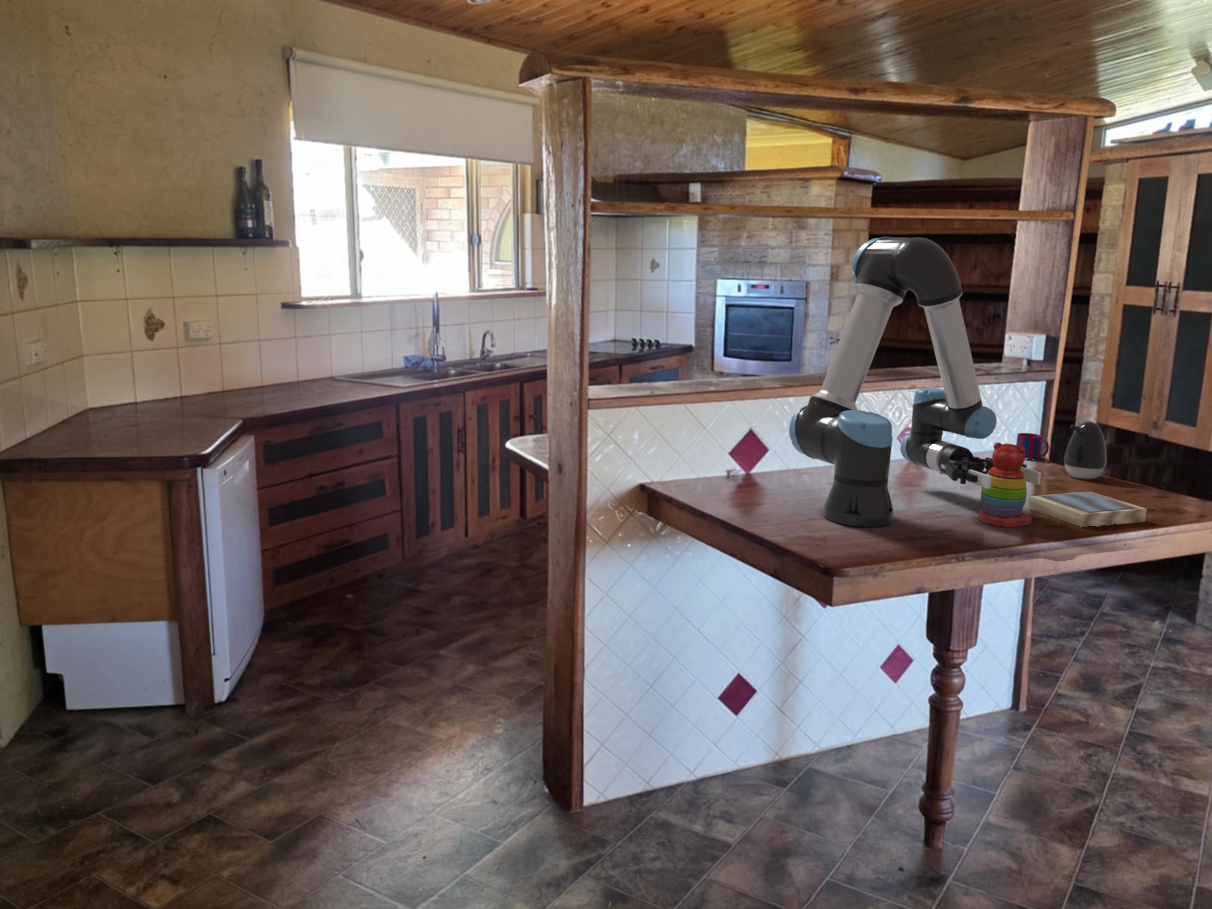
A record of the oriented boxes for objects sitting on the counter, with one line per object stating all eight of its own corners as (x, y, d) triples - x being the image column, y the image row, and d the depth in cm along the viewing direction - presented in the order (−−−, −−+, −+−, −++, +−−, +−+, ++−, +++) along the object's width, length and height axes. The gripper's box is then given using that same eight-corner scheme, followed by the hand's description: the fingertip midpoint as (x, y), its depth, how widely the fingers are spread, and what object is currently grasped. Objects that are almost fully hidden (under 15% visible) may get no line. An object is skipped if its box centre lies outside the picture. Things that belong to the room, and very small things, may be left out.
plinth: (1082, 527, 210) (1083, 513, 209) (1028, 508, 225) (1030, 495, 224) (1144, 521, 216) (1146, 508, 215) (1088, 503, 231) (1090, 490, 230)
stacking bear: (1034, 522, 214) (1043, 444, 210) (1017, 531, 207) (1026, 450, 203) (986, 512, 221) (994, 436, 217) (968, 520, 214) (976, 443, 210)
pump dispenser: (1053, 472, 262) (1060, 418, 259) (1089, 472, 263) (1096, 418, 260) (1075, 482, 252) (1082, 425, 249) (1112, 481, 253) (1120, 425, 250)
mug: (1028, 454, 284) (1030, 432, 283) (1053, 462, 275) (1056, 439, 274) (1009, 456, 282) (1012, 433, 281) (1034, 463, 273) (1037, 440, 272)
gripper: (991, 471, 234) (1057, 493, 215) (905, 478, 226) (966, 501, 207) (994, 441, 233) (1061, 460, 213) (908, 447, 224) (970, 467, 205)
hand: (1015, 480), depth 210 cm, fingers open, 13 cm apart
